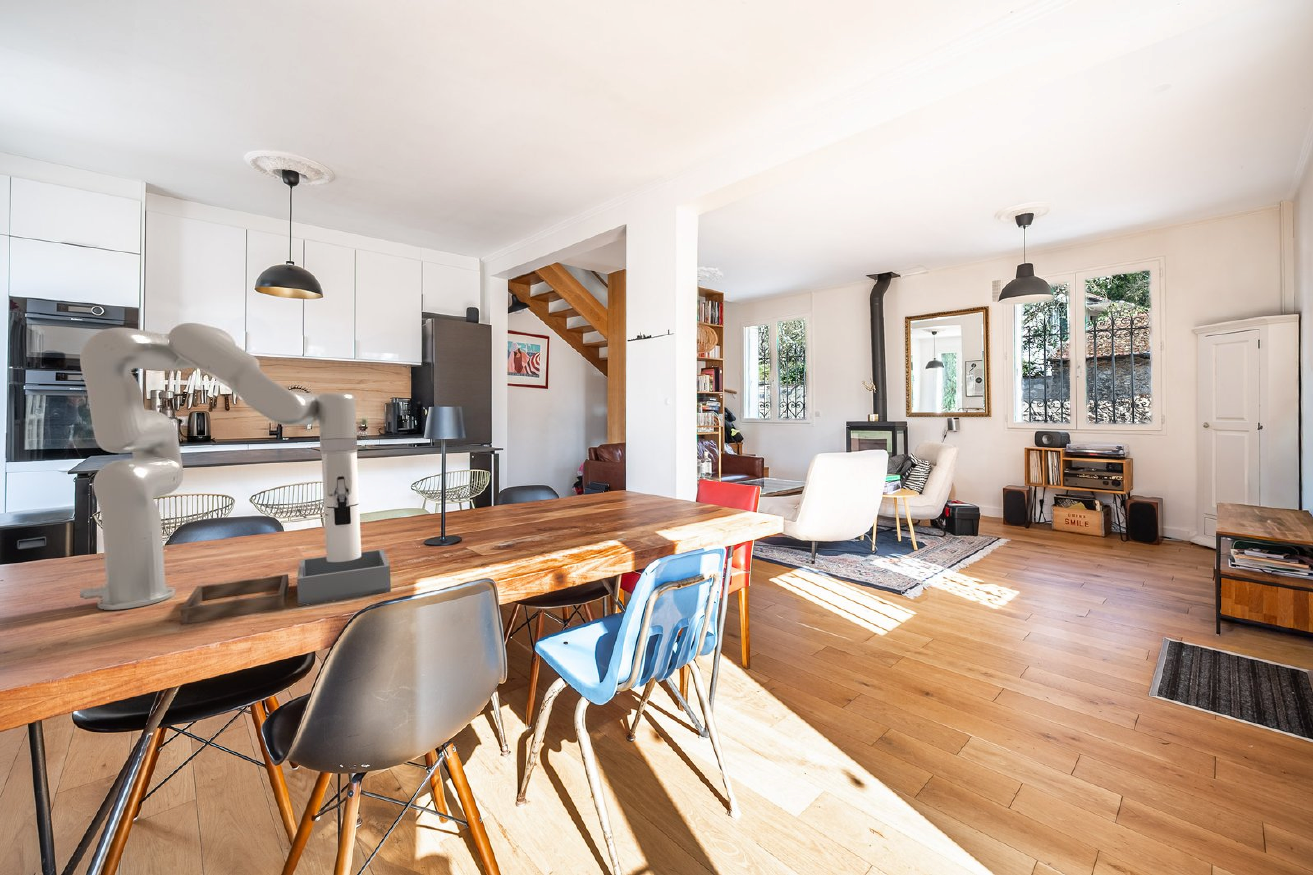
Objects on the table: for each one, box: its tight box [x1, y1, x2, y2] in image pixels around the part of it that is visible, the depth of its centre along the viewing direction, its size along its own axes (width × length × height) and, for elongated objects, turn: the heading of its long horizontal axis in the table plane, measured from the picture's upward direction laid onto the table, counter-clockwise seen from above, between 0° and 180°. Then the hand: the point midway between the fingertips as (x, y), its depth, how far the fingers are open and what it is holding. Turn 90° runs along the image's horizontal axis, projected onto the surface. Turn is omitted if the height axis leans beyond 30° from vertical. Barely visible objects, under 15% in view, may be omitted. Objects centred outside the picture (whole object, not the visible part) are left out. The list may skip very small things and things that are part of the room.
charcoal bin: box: [296, 548, 392, 607], centre depth 132 cm, size 18×18×6 cm
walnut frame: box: [179, 573, 290, 625], centre depth 122 cm, size 17×17×3 cm
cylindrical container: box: [321, 451, 362, 562], centre depth 131 cm, size 7×7×25 cm
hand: (342, 521), depth 131 cm, fingers closed on cylindrical container, 7 cm apart
